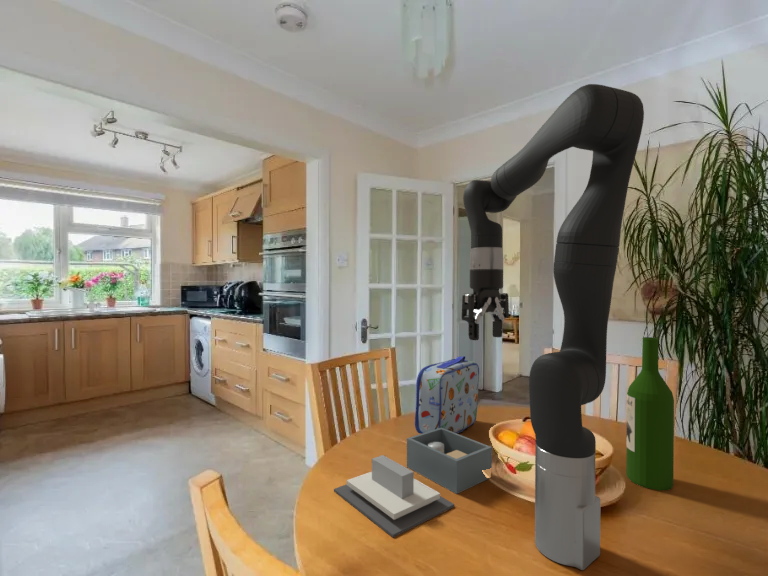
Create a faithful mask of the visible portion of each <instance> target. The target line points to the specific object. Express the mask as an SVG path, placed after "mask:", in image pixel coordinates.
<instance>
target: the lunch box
mask: <svg viewBox="0 0 768 576" xmlns="http://www.w3.org/2000/svg"><path fill="white" fill-rule="evenodd" d="M479 383H480V367H479V365H478V363H477V362H476V361H470V360H467V359H466V356H457V357H456V358H452V359H449V360H446V361H441V362H436V363H433V364H429V365H426V366H424V367H422V368H421V369H420V371H419V372H418V374H417V376H416V383H415V386H416V390H415V414H414V428H415V430H416V432H417V433H418V434H422V433H425V432H429V431H432V430H435V429H438V428H444V429H446V430H449V431H451V432H454V433H457V434H459V433H462V432H463V431H464V430H466V429H467V428H469V427H470V426H472V425H474V424H475V423H476V420H477V417H478V401H479V399H478V398H479V396H478V395H479V385H480V384H479Z"/></svg>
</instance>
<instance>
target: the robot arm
mask: <svg viewBox="0 0 768 576" xmlns="http://www.w3.org/2000/svg"><path fill="white" fill-rule="evenodd" d="M644 111H645V110H644V104H643V102H642V99H641V98H640V97H639V96H638V95H637V94H635V93H634V92H631V91H628V90H623V89H620V88H616V87H614V86H613V87H612V86H607V85H603V84H597V83H589V84H585V85H583V86H580V87H578V88H577V89H575V90H574V91H573V92H572V93H571V94H569V96H568V97H566V98H565V99H564V101H563V102H562V103H561V104H560V105H559V106H558V107H557V108H556V109H555V110H554V111H553V113H552V114H551V115H550V116H549V117H548V118H547V120H546V121H544V123H543V124H542V125H541V127H540V128H539V129H538V130H537V132H535V134H534V135H533V136H532V138H531V139H529V141H528V142H527V143H526V144H525V145H524V146H523V148H522V149H520V150H519V151H518V152H517V153H516V154H514V155H513V156H512V157H511V158H509V159H508V160H507V161H505V162H504V163H502V164H501V166H499V167H498V168H497V169H496V170H495V171H493V173H492V175H491V178H490V180H483V179H482V180H481V179H474V180H471V181H470V182H468V183H467V185H466V186H465V188H464V191H463V196H462V199H463V200H462V201H463V207H464V210H465V214H466V217H467V221H468V224H469V229H470V255H469V288H470V289H472V293H463V294H462V297H461V298H462V301H461V320H462V321H464V322H467V324H468V333H467V334H468V339H469V340H470V341H478V340H479V339H480V323H479V322H480V320H481V318H482V317H484V315H485V314H486V313H488V314H489V315H490V316H491V318H492V320H493V321H492V337H493V338H502V337H503V322H504V321H505V319H508V318H509V317H510V309H509V308H510V305H509V304H510V303H509V293H508V292H507V293H506V292H505V293H504V292H500V290H502V289H503V288H504V253H503V252H504V251H503V227H502V225H501V223H498V222H496V221H493V220H491V219H489V218H488V215H487V213H491V214H492V213H493V214H494V213H496V214H498V213H501V212H504V211H506V210H507V209H508V208H509V207H510V206H511V205H512V203H513V202H514V201H515V199H516V198H517V197H518V196H519V195H522V193H524V192H525V191H527V190H528V189H530V188H532V187H533V186H535V185H536V184H537V183H538V182H540V180H541V179H542V177H543V176H544V174H545V172H546V170H547V166H548V163H549V161H550V159H552V158H553V157H554V156H556V155H558V154H560V153H561V152H564V151H565V150H569V149H570V148H577V149H580V150H584V151H591V152H592V161H591V167H590V168H591V169H590V173H589V178H588V182H587V185H586V187H585V189H584V191H583V193H582V195H581V196H580V198H579V199H578V200H577V202H576V203H575V205H574V206H573V207H572V208H571V210H570V211H569V213H568V214H567V216H566V217H565V219H564V220H563V222H562V223H561V225H560V228H559V229H558V232H557V236H556V237H557V238H556V243H555V251H554V259H553V272H552V273H553V277H554V283H555V287H556V291H557V293H558V296H559V300H560V303H561V306H562V307H561V308H562V310H563V316H564V317H563V320H564V324H563V334H562V341H561V345H560V350H559V351H555V352H554V351H553V352H548V353H545V354H542V355H539V356H538V357H537V358H536V359H535V360H534V362H533V363H532V366H531V367H530V371H529V377H528V393H529V395H528V396H529V397H528V398H529V416H530V417H529V418H530V423H531V427H532V431H533V432H534V435H535V449H534V450H535V451H534V452H535V454H534V455H535V456H534V457H535V460H534V461H535V462H534V463H535V467H534V468H535V469H534V472H535V473H534V476H535V477H534V480H535V481H534V487H535V488H534V521H535V522H534V545H535V547H536V548H537V550H538V551H539V552H540V554H542V555H544V556H545V557H546V558H547V559H549V560H551V561H552V562H554V563H555V562H556V564H557V563H558V564H561V565H564V566H569V567H574V568H576V569H579V570H581V571H584V570H585V569H586V568H588V567H589V566H590V565H591V564H592V563H593V562H594V561H596V559H597V558H599V557H600V556H601V500H602V499H601V497H599V496H597V495H596V448H597V445H596V435H595V434H594V432H593V431H592V430H590V429H589V428H587V427H585V426H583V420H582V418H583V416H582V406H584V405H587V404H590V403H592V402H594V401H595V400H597V399H598V398H599V397H600V396H601V394H602V392H603V391H604V389H605V388H604V387H605V384H606V379H607V344H608V343H607V341H608V338H607V336H608V325H609V324H608V322H609V318H610V311H611V305H612V303H611V302H612V297H613V288H614V281H615V276H616V272H617V271H616V270H617V264H618V257H619V251H620V241H621V230H622V226H623V225H622V224H623V220H624V219H623V218H624V213H625V206H626V201H627V195H628V189H629V184H630V179H631V174H632V171H633V166H634V162H635V159H636V154H637V152H638V148H639V143H640V139H641V136H642V132H643V131H642V130H643V126H644V125H643V124H644V118H645V112H644Z"/></svg>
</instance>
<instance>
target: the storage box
mask: <svg viewBox="0 0 768 576" xmlns="http://www.w3.org/2000/svg"><path fill="white" fill-rule="evenodd" d="M492 449H493V447H492V446H490V445H487V444H485V443H482V442H479V441H477V440H475V439H472V438H469V437H467V436H464V435H462V434H459V433H454V432H451V431H449V430H446V429H444V428H438V429H435V430H432V431H429V432H425V433H422V434H420V433H418V434H417V435H413V436H410V437H407V438H406V468H407V469H409V470H411V471H413V472H416V473H417V474H419V475H421V476H422V477H425V478H427V479H428V480H430V481H432V482H434V483H436V484H437V485H439V486H442V487H443V488H445V489H446V490H448V491H449V492H452V493H454V494H455V495H457V494H460V493H463V491H467V490H468V489H470V488H472V487H475V486H477V485H478V484H480V483H482V482H485V481H487V480H488V479H487V478H486V477H485V475H484V474H483V472H482V470H486V469H490V468H493V466H492V465H493V464H492V463H493V460H492V458H493V457H492V456H493V455H492V454H493V453H492V452H493V450H492Z"/></svg>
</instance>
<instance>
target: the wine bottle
mask: <svg viewBox="0 0 768 576" xmlns="http://www.w3.org/2000/svg"><path fill="white" fill-rule="evenodd" d="M674 428H675V398H674V394H673V392H672V389H671V388H670V387H669V385H668V384H667V383H666V381H665V380H664V378H663V376H662V375H661V373H660V371H659V338H657V337H653V336H652V337H650V336H645V337H642V357H641V370H640V372H639V373H638V375H637V376H636V377H635V379H634V380H633V381H632V382H631V383H630V385H628V388H627V392H626V444H625V445H626V458H625V459H626V462H625V463H626V467H625V468H626V474H625V475H626V477H627V479H628V478H629V479H630V480H631V481H632V482H631V481H630V480H629V479H628V480H629V481H630V482H631V483H633V482H634V483H633V484H634V485H637V484H638V485H637V486H639V485H640V486H639V487H641V486H643V487H642V488H644V487H645V489H648V488H650V490H652V489H655V490H654V491H662V490H664V491H669V490H672V489H673V487H674V465H675V464H674V459H675V458H674V453H675V452H674V451H675V448H674V447H675V443H674V442H675V441H674V440H675V439H674V438H675V437H674V436H675V433H674V432H675V429H674Z"/></svg>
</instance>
